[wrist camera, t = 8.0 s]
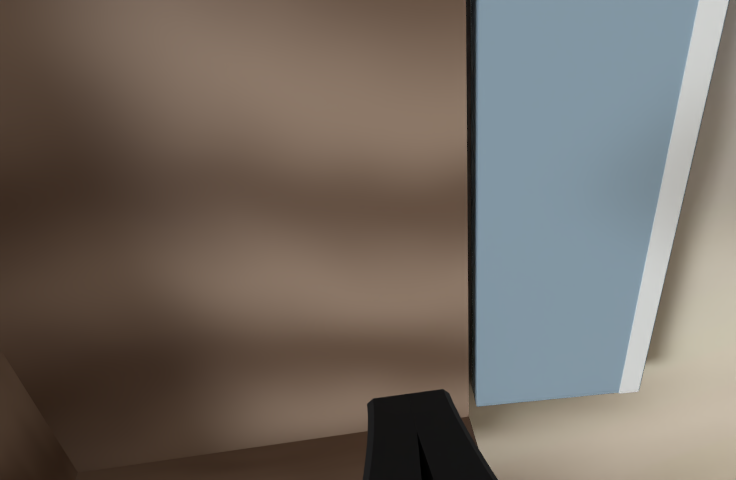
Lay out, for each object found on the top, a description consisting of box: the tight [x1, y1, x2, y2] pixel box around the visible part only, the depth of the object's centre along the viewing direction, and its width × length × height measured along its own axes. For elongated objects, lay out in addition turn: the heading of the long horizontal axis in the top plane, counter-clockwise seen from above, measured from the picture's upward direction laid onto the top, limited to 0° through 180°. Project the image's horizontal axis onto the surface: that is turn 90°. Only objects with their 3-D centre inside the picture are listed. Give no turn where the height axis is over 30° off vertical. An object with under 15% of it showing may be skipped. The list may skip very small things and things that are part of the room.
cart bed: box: [0, 0, 478, 480], centre depth 14 cm, size 25×16×7 cm, turn 6°
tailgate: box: [471, 0, 730, 407], centre depth 17 cm, size 20×1×6 cm
